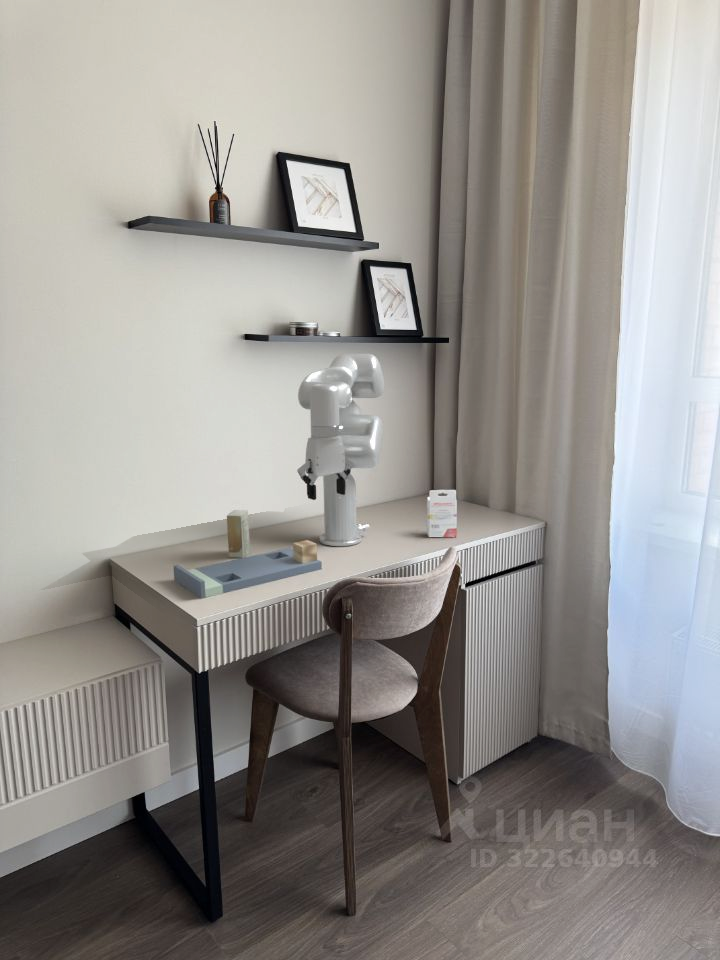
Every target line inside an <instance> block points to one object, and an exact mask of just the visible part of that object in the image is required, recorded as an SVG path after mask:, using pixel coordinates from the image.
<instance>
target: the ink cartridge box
mask: <svg viewBox="0 0 720 960" xmlns="http://www.w3.org/2000/svg"><path fill="white" fill-rule="evenodd" d="M428 493H429V494H428V495H429V496H427V499H426V502H427V503H426V513H427V514H426V521H427V522H426V523H427V525H426V527H427V528H426V530H427V531H426V533H427V536H428V538H429V537H452V536H458V531H457V529H458V528H457V527H458V525H457V524H458V520H457V519H458V517H457V515H458V510H457V509H458V507H457V506H458V504H457V503H458V500H457V490H456V489H437V490H436V489H435V490H433V489H432V490H429V492H428ZM442 494H444V495H442Z"/></svg>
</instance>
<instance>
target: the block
mask: <svg viewBox="0 0 720 960" xmlns="http://www.w3.org/2000/svg"><path fill="white" fill-rule="evenodd" d="M317 546H318V544H317V543H315V542H313V541H310V540H308V539H307V540H301V541H297V542H292V549H293V559H294V560H296V561H298V562H300V563H302V564H303V563H307V562H312V561H316V560H318V548H317Z"/></svg>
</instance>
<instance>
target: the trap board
mask: <svg viewBox="0 0 720 960" xmlns="http://www.w3.org/2000/svg"><path fill="white" fill-rule="evenodd" d="M322 565H323V564H322V561H321V560H319V559H317V560H316V561H312V562H307V563H303V564H302V563H300V562H298V561H296V560H294V559H293V548H290V547H287V548H283V549H277V550H273V551H269V552H264V553H259V554H255V555H250V556H245V557H244V558H236V559H232V560H227V561H222V562H218V563H212V564H209V565H205V566H199V567H196V568H191V569H185V568H184V567H182V566H180V565H179V564H174V565H173V580H174V582H176V583H178V584H179V585H181V586H182V587H184V588H185V589H186V590H188V591H190V592H191V593H193V594H194V595H196V596H198V597H199V598H201V599H205V598H208V597H212V596H217V595H221V594H225V593H229V592H233V591H237V590H241V589H246V588H249V587H250V588H251V587H254V586H257V585H262V584H266V583H270V582H274V581H278V580H282V579H287V578H290V577H294V576H299V575H303V574H306V573H307V574H308V573H310V572H315V571H319V570H322V569H323V568H322V567H323V566H322Z"/></svg>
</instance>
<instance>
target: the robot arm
mask: <svg viewBox="0 0 720 960" xmlns="http://www.w3.org/2000/svg"><path fill="white" fill-rule="evenodd" d="M384 391H385V378H384V374H383V370H382V366H381V363H380V362H379V360H378V358H377V357H376V356H375V355H374V354H371V353H342V354H340V355H338V356H336V357H335V358H334V359H333V360H332V362H331V363H330V365H329V367H326V368H324V369H320V370H318V371H315V372H312V373H310V374H308V375H306V376H305V377H304V378H303V380H302V382H301V383H300V385H299V389H298V393H297V398H298V399H297V401H298V402H299V405H300V406H301V408H303V409H305V410H308V411H309V410H310V411H309V412H310V437H308V438H307V442H306V448H305V463H304V464H302V465H301V466H300V467H299V468H297V470H296V471H297V473H298V476H299V477H300V479H301V480H302V481H303V482H304V483H305V484H306V496H307V498H308V499H309V500H312V501H315V500H317V485H316V484H315V482H316V481H317V480H318V478H319V477H322V480H323V485H322V486H323V516H324V517H323V518H324V519H323V521H324V523H323V525H324V533H322V534H321V535H319V542H320V543H321V544H322V545H326V546H331V547H347V546H354V545H357V544H359V543H361V542H362V540H363V537H362V535H361V534H360V533H362V532H366V531H369V530H370V529H371V528H370V525H369V524H368V523H367V524H362V525H361V523H357V484H356V480H355V477H354V476H353V475H352V473H351V471H352V469H373V468H375V467H376V466H377V465H378V463H379V462H380V461H379V460H380V458H381V457H380V456H381V450H382V444H383V436H384V425H383V421H382V419H381V418H380V417H379V416H378V415H375V414H363V411H362V408H361V407H360V405H359V404H358V403H356V401H355V400H353V399H376V398H379V397H381V396H382V395H383V393H384Z"/></svg>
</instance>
